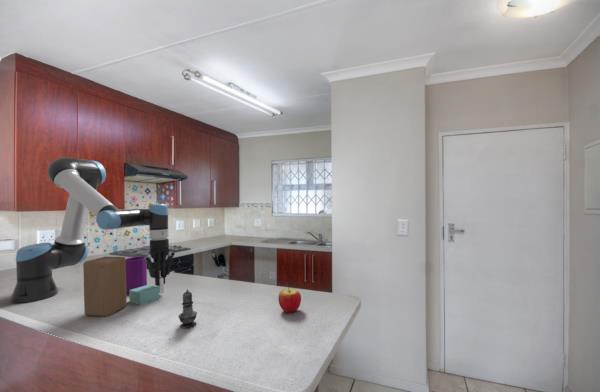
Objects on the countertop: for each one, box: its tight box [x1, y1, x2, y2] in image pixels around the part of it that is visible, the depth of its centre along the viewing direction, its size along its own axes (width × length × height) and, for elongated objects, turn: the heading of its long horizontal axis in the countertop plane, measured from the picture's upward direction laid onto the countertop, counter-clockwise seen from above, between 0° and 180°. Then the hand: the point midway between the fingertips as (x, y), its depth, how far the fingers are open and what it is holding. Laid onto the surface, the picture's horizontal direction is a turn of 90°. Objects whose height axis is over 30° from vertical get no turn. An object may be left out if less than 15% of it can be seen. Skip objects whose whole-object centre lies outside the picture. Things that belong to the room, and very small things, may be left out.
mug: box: [125, 256, 148, 294], centre depth 134 cm, size 9×16×15 cm, turn 68°
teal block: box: [128, 284, 160, 306], centre depth 120 cm, size 8×8×5 cm
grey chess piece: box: [177, 289, 198, 330], centre depth 94 cm, size 6×6×12 cm
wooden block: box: [82, 256, 128, 317], centre depth 108 cm, size 10×10×20 cm
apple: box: [277, 282, 302, 313], centre depth 104 cm, size 8×8×10 cm
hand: (160, 292), depth 125 cm, fingers closed
